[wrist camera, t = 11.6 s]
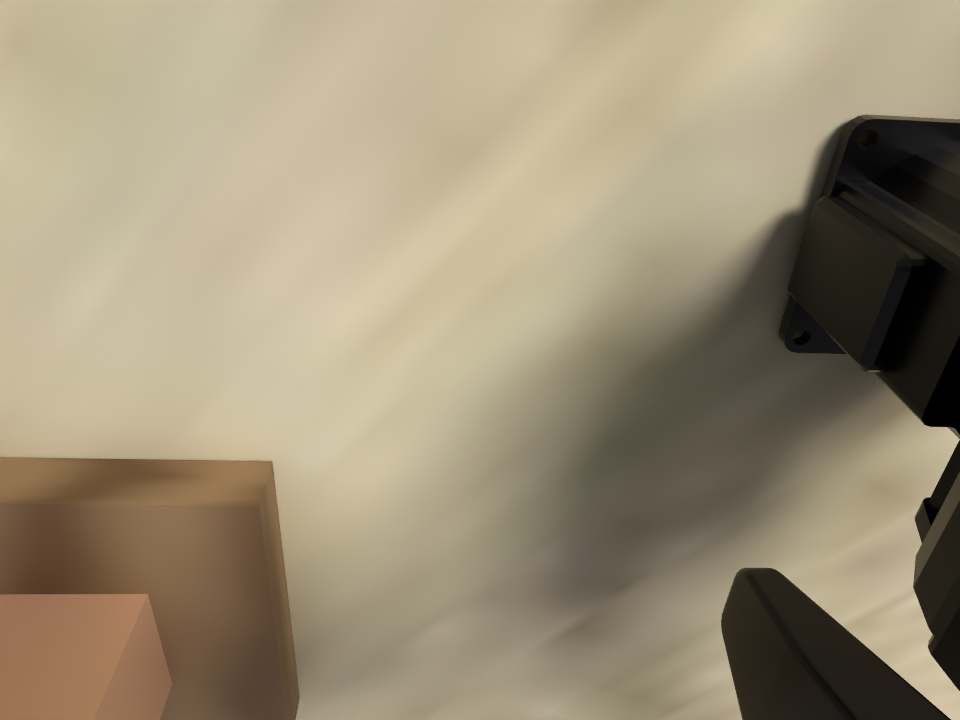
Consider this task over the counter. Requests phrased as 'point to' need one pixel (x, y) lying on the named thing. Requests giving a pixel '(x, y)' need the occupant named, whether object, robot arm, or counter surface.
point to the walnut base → (166, 567)
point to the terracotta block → (81, 658)
